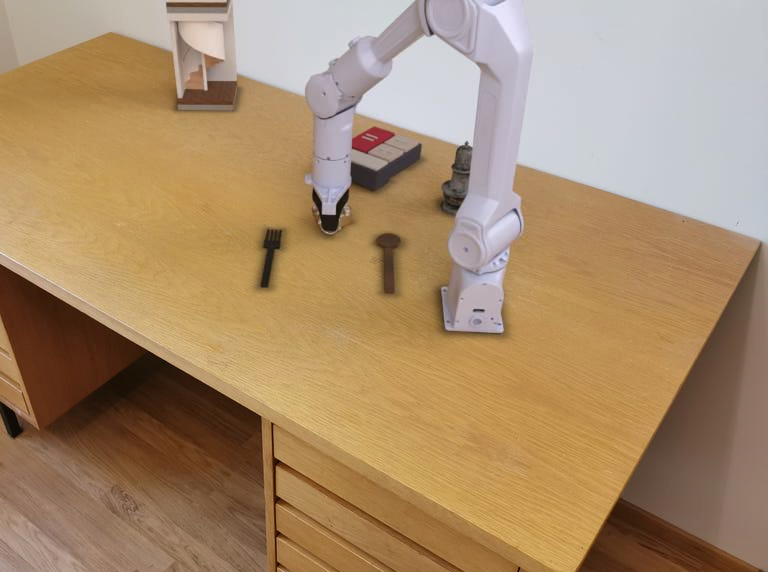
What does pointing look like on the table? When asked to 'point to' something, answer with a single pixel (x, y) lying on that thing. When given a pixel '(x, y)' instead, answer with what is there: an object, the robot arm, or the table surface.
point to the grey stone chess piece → (457, 180)
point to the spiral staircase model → (203, 53)
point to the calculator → (381, 156)
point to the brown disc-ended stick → (389, 258)
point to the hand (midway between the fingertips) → (329, 229)
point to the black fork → (270, 254)
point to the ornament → (343, 220)
